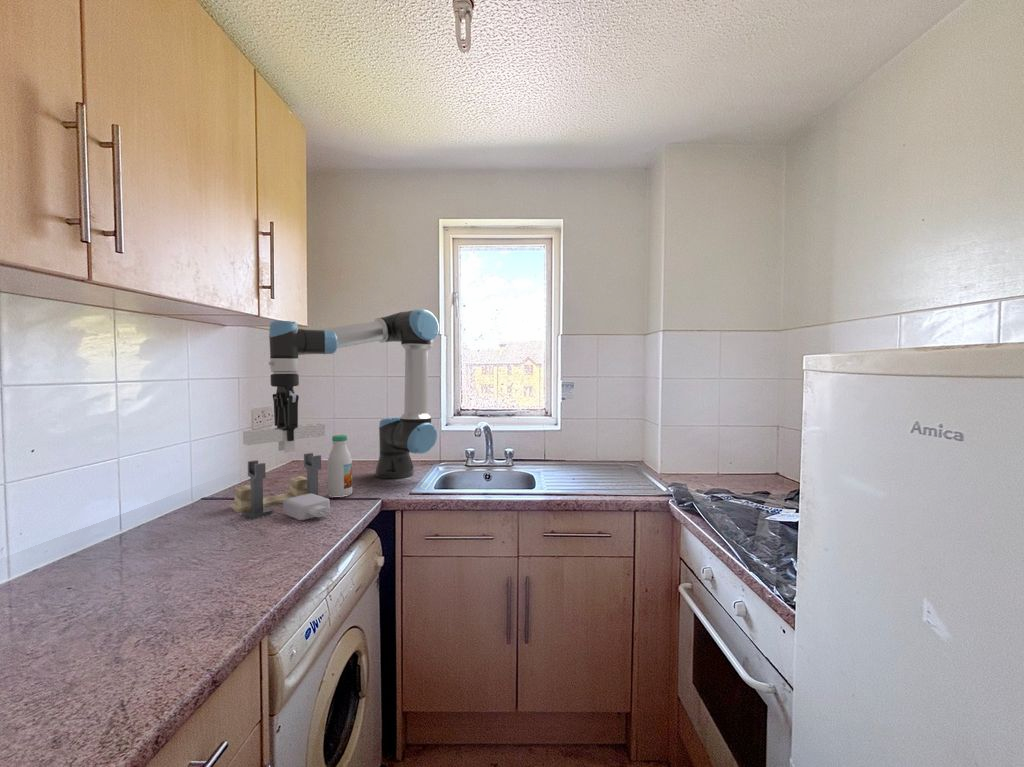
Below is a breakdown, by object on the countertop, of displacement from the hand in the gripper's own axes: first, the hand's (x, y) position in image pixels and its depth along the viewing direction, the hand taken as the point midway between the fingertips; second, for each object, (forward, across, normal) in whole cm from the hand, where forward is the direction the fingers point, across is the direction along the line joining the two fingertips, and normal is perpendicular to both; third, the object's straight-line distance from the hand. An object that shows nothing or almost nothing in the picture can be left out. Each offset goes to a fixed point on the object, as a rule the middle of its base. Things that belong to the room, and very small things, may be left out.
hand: (286, 450), depth 133 cm
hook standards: (+18, 0, 0) cm, 18 cm away
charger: (+18, +12, +2) cm, 22 cm away
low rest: (+18, -10, 0) cm, 20 cm away
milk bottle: (+18, -2, +18) cm, 25 cm away
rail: (-3, 0, 0) cm, 3 cm away
